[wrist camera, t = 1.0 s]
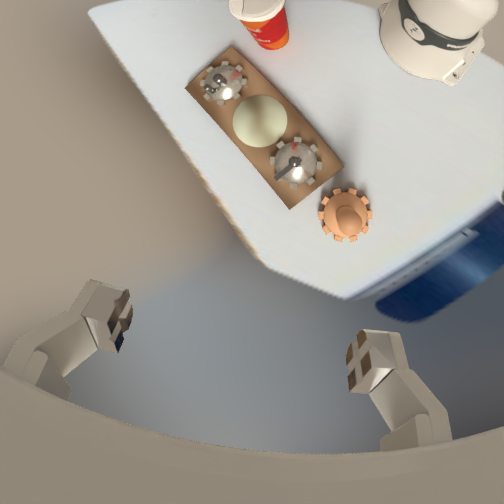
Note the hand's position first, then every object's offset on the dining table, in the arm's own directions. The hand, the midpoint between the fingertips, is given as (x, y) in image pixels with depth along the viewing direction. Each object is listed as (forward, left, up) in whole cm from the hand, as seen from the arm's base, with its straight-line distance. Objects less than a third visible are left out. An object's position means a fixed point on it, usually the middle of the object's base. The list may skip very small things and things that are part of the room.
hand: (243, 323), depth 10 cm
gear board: (-3, -16, -39) cm, 42 cm away
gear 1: (-3, -25, -38) cm, 45 cm away
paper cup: (-15, -27, -40) cm, 50 cm away
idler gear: (-4, +4, -39) cm, 40 cm away
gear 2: (-3, -7, -38) cm, 39 cm away
